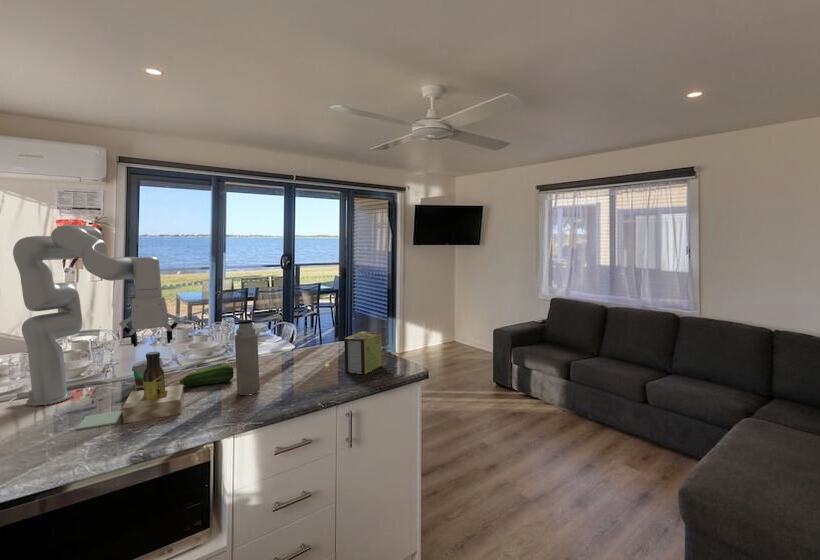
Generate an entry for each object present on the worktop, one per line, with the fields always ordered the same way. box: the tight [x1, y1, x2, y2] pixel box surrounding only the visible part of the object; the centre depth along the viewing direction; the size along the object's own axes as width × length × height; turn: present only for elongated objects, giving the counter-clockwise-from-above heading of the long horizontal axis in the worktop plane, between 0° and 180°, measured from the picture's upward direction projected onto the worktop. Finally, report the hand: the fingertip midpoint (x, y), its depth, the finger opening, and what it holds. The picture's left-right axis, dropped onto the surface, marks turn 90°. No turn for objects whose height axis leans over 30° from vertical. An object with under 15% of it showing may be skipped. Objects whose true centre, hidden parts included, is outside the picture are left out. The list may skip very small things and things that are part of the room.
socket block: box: [121, 384, 185, 424], centre depth 139 cm, size 16×16×5 cm
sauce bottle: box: [143, 351, 166, 401], centre depth 138 cm, size 6×6×20 cm
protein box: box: [343, 331, 382, 375], centre depth 182 cm, size 10×15×16 cm
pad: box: [76, 410, 123, 431], centre depth 131 cm, size 10×10×1 cm
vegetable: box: [178, 364, 235, 388], centre depth 164 cm, size 7×7×20 cm
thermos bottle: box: [234, 319, 261, 396], centre depth 154 cm, size 8×8×28 cm
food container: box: [131, 357, 164, 391], centre depth 162 cm, size 12×6×10 cm, turn 168°
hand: (152, 344), depth 137 cm, fingers open, 9 cm apart
